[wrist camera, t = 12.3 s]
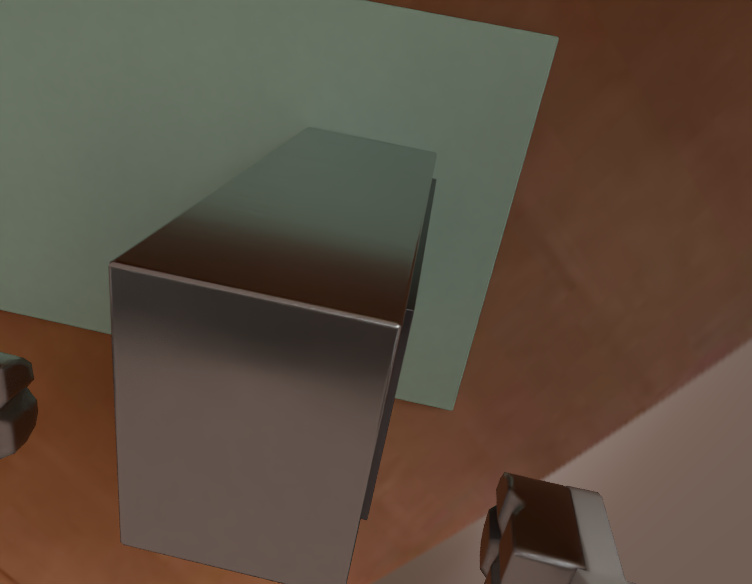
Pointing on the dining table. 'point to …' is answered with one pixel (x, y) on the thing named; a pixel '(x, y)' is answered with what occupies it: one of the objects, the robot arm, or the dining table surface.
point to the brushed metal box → (268, 357)
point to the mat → (252, 137)
